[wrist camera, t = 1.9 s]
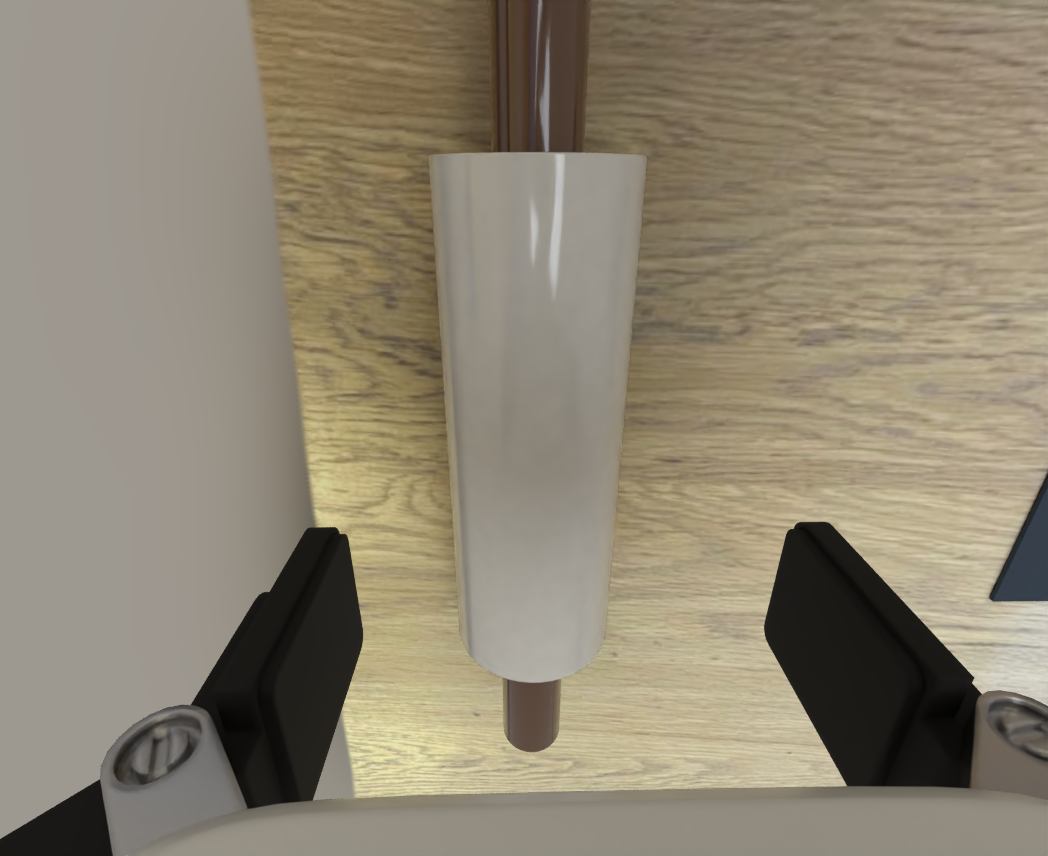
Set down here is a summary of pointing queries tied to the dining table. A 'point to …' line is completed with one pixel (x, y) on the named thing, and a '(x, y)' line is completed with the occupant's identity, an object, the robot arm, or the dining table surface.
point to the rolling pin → (535, 361)
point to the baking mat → (1028, 559)
